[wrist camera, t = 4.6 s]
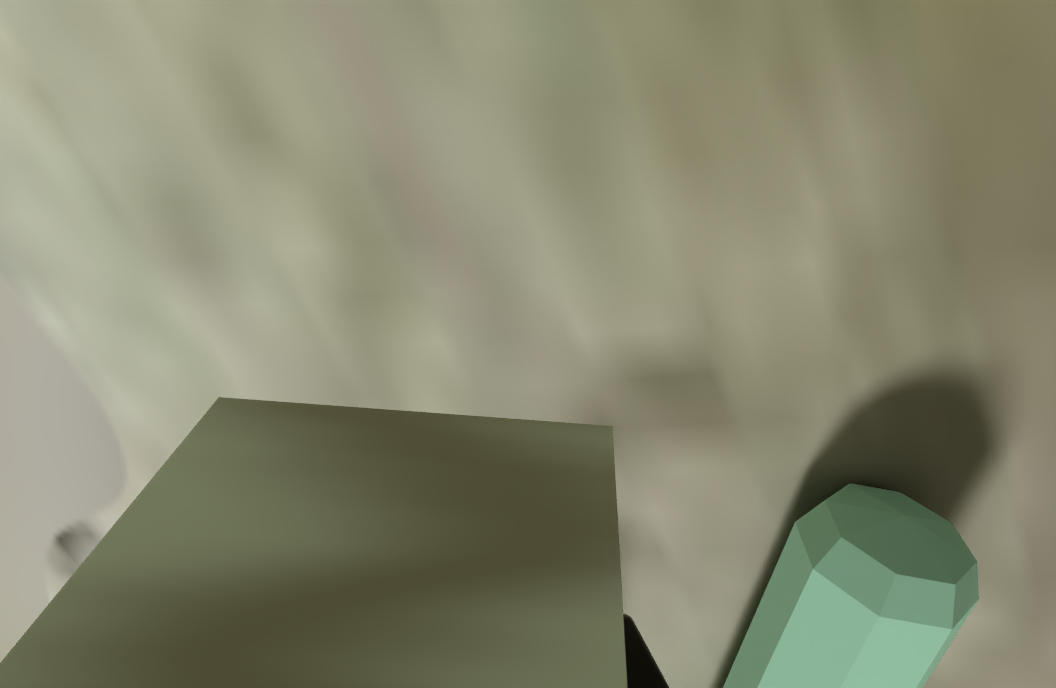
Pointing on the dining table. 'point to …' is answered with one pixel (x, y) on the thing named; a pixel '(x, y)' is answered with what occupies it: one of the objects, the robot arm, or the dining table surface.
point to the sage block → (350, 560)
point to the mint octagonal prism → (860, 597)
